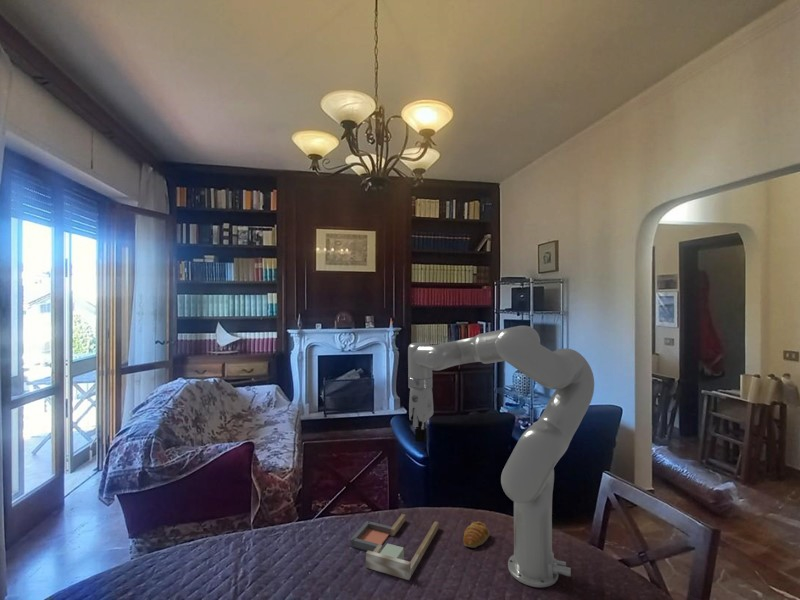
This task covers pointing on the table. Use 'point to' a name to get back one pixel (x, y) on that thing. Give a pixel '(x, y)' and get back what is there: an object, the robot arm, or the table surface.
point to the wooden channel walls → (394, 564)
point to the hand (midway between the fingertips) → (420, 440)
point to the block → (393, 551)
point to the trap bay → (370, 536)
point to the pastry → (475, 534)
